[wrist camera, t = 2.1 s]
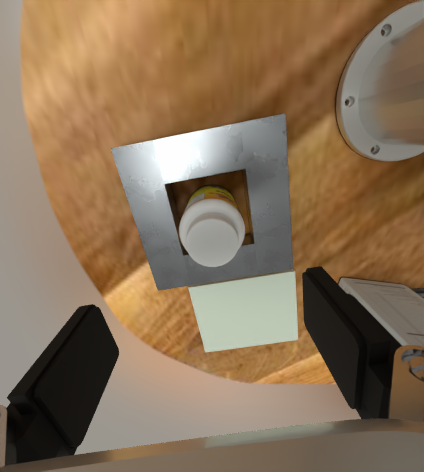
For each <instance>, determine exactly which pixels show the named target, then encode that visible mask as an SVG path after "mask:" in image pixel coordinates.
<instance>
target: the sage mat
mask: <svg viewBox="0 0 424 472" xmlns="http://www.w3.org/2000/svg"><path fill="white" fill-rule="evenodd" d="M188 289H189V293H190V296H191V300H192V304H193V308H194V311H195V315H196V319H197V322H198V326H199V330H200V334H201V337H202V341H203V345H204V348H205V352H212V351H219V350H227V349H234V348H241V347H249V346H256V345H263V344H271V343H278V342H285V341H293V340H298V326H297V304H296V282H295V270H294V269H292V270H285V271H279V272H273V273H266V274H260V275H254V276H247V277H241V278H235V279H228V280H222V281H215V282H209V283H203V284H196V285H190V286H188Z"/></svg>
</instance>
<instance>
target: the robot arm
mask: <svg viewBox="0 0 424 472" xmlns="http://www.w3.org/2000/svg"><path fill="white" fill-rule="evenodd" d="M345 100H346V102H347V103H346V105H345ZM336 114H337V122H338V125H339V129H340V132H341V134H342V136H343V138H344V139H345V141H346V143H347V144H348V145H349V146H350V147H351V148H352V149H353V150H354V151H355V152H357V153H358V154H360V155H361V156H363V157H366V158H369V159H372V160H378V161H399V160H405V159H409V158H411V157H414V156H417V155H419V154H421V153H423V152H424V0H420V1H417V2H414V3H411V4H408V5H406V6H404V7H402V8H401V9H399V10H397V11H395V12H393V13H392V14H390V15H389V16H388V17H386V18H385V19H384V20H382V21H381V22H380V23H378V24H377V25H376V26H375V27H374V28H373V29H372V30H371V31H370V32H369V33H368V34H367V35H366V36H365V37H364V38H363V39H362V41H361V42H360V43H359V45H358V46H357V47H356V48H355V50H354V52H353V53H352V55H351V57H350V59H349V60H348V62H347V64H346V66H345V69H344V71H343V74H342V76H341V79H340V83H339V87H338V92H337V100H336ZM302 278H303V308H304V323H305V326H306V328H307V330H308V332H309V334H310V336H311V338H312V339H313V341H314V343H315V345H316V347H317V348H318V350H319V352H320V354H321V356H322V358H323V359H324V361H325V363H326V365H327V367H328V369H329V370H330V372H331V374H332V376H333V378H334V380H335V381H336V383H337V385H338V387H339V389H340V390H341V392H342V394H343V396H344V398H345V400H346V401H347V403H348V405H349V406H350V408H352V409H356V410H357V412H358V413H359V415H360V417H361V419H357V420H344V421H335V422H326V423H316V424H307V425H298V426H290V427H282V428H274V429H266V430H258V431H251V432H242V433H234V434H227V435H219V436H211V437H204V438H196V439H189V440H181V441H173V442H166V443H159V444H151V445H144V446H136V447H129V448H122V449H115V450H107V451H100V452H93V453H86V454H79V455H74V454H75V451H76V449H77V447H78V446H79V445H80V444H81V443H82V441H83V439H84V437H85V435H86V432H87V430H88V428H89V425H90V423H91V420H92V418H93V416H94V413H95V411H96V409H97V406H98V404H99V402H100V399H101V397H102V394H103V392H104V390H105V387H106V385H107V382H108V380H109V378H110V375H111V373H112V371H113V368H114V366H115V364H116V361H117V359H118V356H119V349H118V347H117V345H116V342H115V340H114V338H113V336H112V334H111V332H110V330H109V328H108V325H107V323H106V321H105V319H104V317H103V314H102V312H101V310H100V309H99V307H96V306H95V305H93V304H92V305H86V306H81V307H79V308H78V309H77V310H76V311H75V313H74V314H73V315H72V316H71V318H70V319H69V320H68V321H67V323H66V324H65V325H64V326H63V328H62V329H61V330H60V332H59V333H58V334H57V335H56V337H55V338H54V339H53V340H52V341H51V343H50V344H49V345H48V346H47V348H46V349H45V350H44V351H43V353H42V354H41V355H40V357H39V358H38V359H37V360H36V361H35V363H34V364H33V365H32V366H31V368H30V369H29V370H28V372H27V373H26V374H25V375H24V377H23V378H22V379H21V380H20V382H19V383H18V384H17V385H16V387H15V388H14V389H13V390H12V392H11V393H10V394H9V395H8V397H7V398H8V400H9V401H10V402H11V403H10V404H9V406H8V407H7V408H6V407H5V406H3V405H0V472H424V347H423V346H418V345H405V346H402V345H401V344H400V343H399V342H398V341H397V340H396V339H395V338H394V337H393V336H392V335H391V334H390V333H389V332H388V331H387V330H386V329H385V328H384V327H383V326H382V325H381V324H380V323H379V322H378V321H377V319H376V318H375V317H374V316H373V315H372V314H371V313H370V312H369V311H368V310H367V309H366V308H365V307H364V306H363V305H362V304H361V303H360V302H359V301H358V300H357V299H356V298H355V297H354V296H353V295H351V294H349V293H348V294H347V293H346V292H345V291H344V290H343V289H342V288H341V287H340V286H339V285H338V284H337V283H336V282H335V281H334V280H333V278H332V277H331V276H330V275H329V274H328V273H327V272H326V271H325V270H324V269H323V268H322V267H320V266H319V267H313V268H307V269H306V272H304V273H303V274H302ZM372 418H373V419H372Z"/></svg>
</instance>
